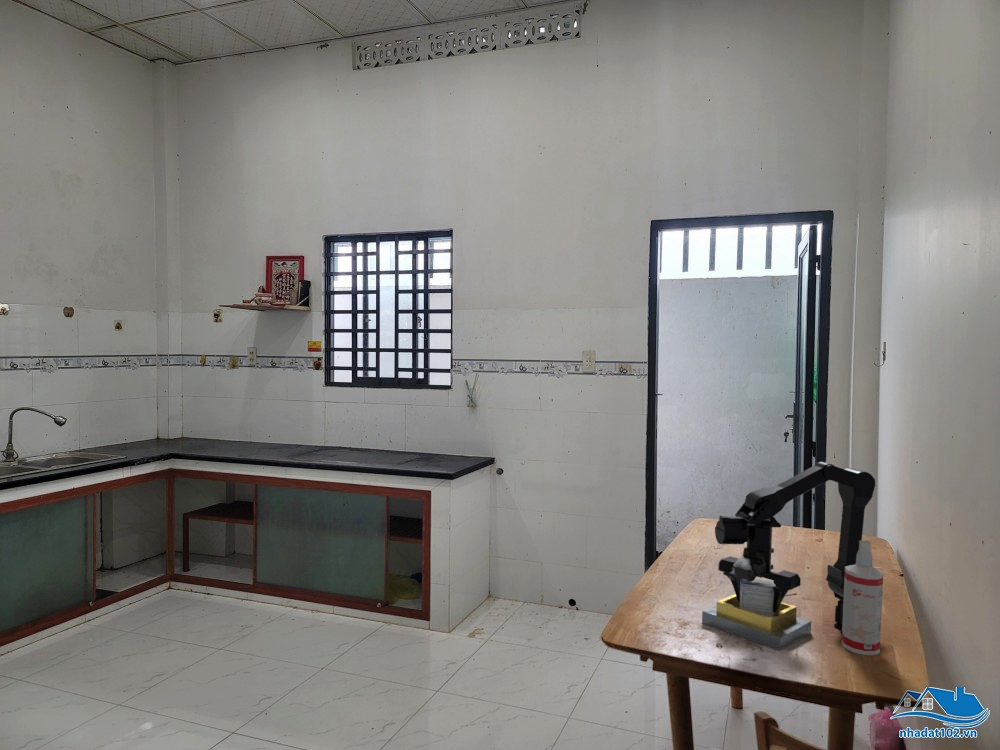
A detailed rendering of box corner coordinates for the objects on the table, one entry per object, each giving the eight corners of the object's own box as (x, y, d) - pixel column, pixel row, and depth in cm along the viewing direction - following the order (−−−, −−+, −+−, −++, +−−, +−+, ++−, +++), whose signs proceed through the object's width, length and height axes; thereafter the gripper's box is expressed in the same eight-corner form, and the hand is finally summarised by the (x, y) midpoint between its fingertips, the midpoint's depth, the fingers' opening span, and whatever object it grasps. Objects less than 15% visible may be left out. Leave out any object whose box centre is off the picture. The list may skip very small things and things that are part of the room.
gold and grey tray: (810, 633, 162) (811, 609, 162) (779, 650, 151) (780, 624, 151) (734, 608, 177) (735, 586, 177) (701, 623, 166) (702, 599, 166)
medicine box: (772, 615, 165) (773, 580, 165) (775, 622, 161) (776, 586, 161) (739, 611, 167) (740, 577, 167) (740, 618, 163) (741, 583, 163)
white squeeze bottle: (867, 641, 158) (872, 537, 158) (886, 655, 151) (891, 546, 150) (835, 640, 158) (839, 536, 157) (853, 654, 151) (857, 545, 150)
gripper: (707, 541, 165) (705, 603, 166) (780, 559, 151) (778, 626, 152) (730, 534, 173) (728, 593, 173) (802, 550, 159) (800, 615, 159)
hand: (756, 606), depth 164 cm, fingers closed on medicine box, 9 cm apart
